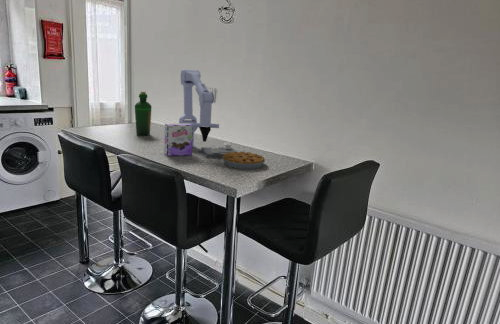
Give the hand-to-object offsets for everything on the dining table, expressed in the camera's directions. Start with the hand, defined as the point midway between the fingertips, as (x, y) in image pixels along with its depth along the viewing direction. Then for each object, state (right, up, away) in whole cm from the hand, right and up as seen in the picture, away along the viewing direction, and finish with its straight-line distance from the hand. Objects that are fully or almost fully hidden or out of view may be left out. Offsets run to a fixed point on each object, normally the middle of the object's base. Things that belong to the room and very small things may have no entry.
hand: (204, 141), depth 180 cm
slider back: (+11, -3, +15) cm, 19 cm away
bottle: (-47, +7, +45) cm, 65 cm away
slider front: (+5, -6, +4) cm, 8 cm away
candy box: (-14, -7, +2) cm, 16 cm away
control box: (+7, -7, +10) cm, 14 cm away
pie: (+21, -12, -7) cm, 25 cm away
